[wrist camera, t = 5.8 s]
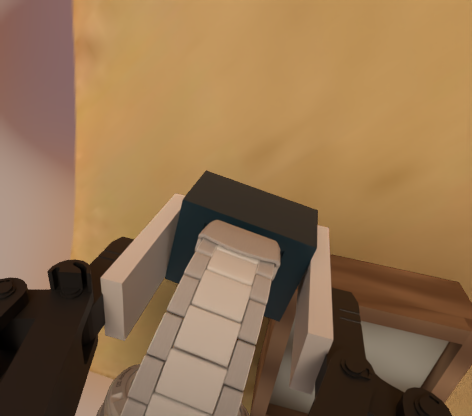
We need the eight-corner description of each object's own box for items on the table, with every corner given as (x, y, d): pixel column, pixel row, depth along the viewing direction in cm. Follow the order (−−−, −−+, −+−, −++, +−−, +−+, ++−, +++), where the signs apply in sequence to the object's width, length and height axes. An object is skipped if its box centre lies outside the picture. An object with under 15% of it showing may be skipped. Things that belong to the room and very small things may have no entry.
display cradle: (288, 245, 27) (284, 288, 22) (459, 282, 25) (492, 336, 21) (257, 367, 34) (249, 418, 29) (389, 401, 33) (402, 461, 28)
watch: (181, 268, 19) (42, 505, 10) (215, 135, 15) (32, 319, 6) (275, 303, 19) (228, 585, 9) (335, 177, 15) (363, 449, 5)
